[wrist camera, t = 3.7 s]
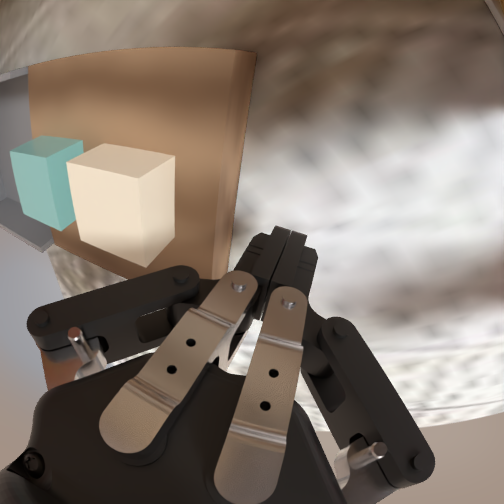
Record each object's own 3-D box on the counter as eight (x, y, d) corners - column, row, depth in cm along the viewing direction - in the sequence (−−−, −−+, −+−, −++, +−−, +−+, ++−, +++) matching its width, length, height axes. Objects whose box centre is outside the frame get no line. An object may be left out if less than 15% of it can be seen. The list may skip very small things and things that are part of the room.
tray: (-9, 78, 17) (-41, 90, 14) (56, 59, 15) (10, 71, 11) (8, 198, 27) (-17, 216, 24) (74, 226, 25) (42, 252, 21)
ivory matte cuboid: (104, 143, 15) (66, 162, 12) (175, 156, 14) (138, 178, 11) (111, 215, 18) (80, 240, 15) (174, 237, 17) (146, 267, 15)
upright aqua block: (41, 135, 16) (9, 151, 13) (82, 140, 15) (46, 157, 13) (50, 194, 19) (23, 213, 17) (91, 208, 18) (61, 231, 16)
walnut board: (58, 59, 15) (28, 66, 13) (257, 52, 12) (235, 49, 10) (75, 227, 25) (55, 244, 22) (225, 284, 22) (209, 312, 20)
